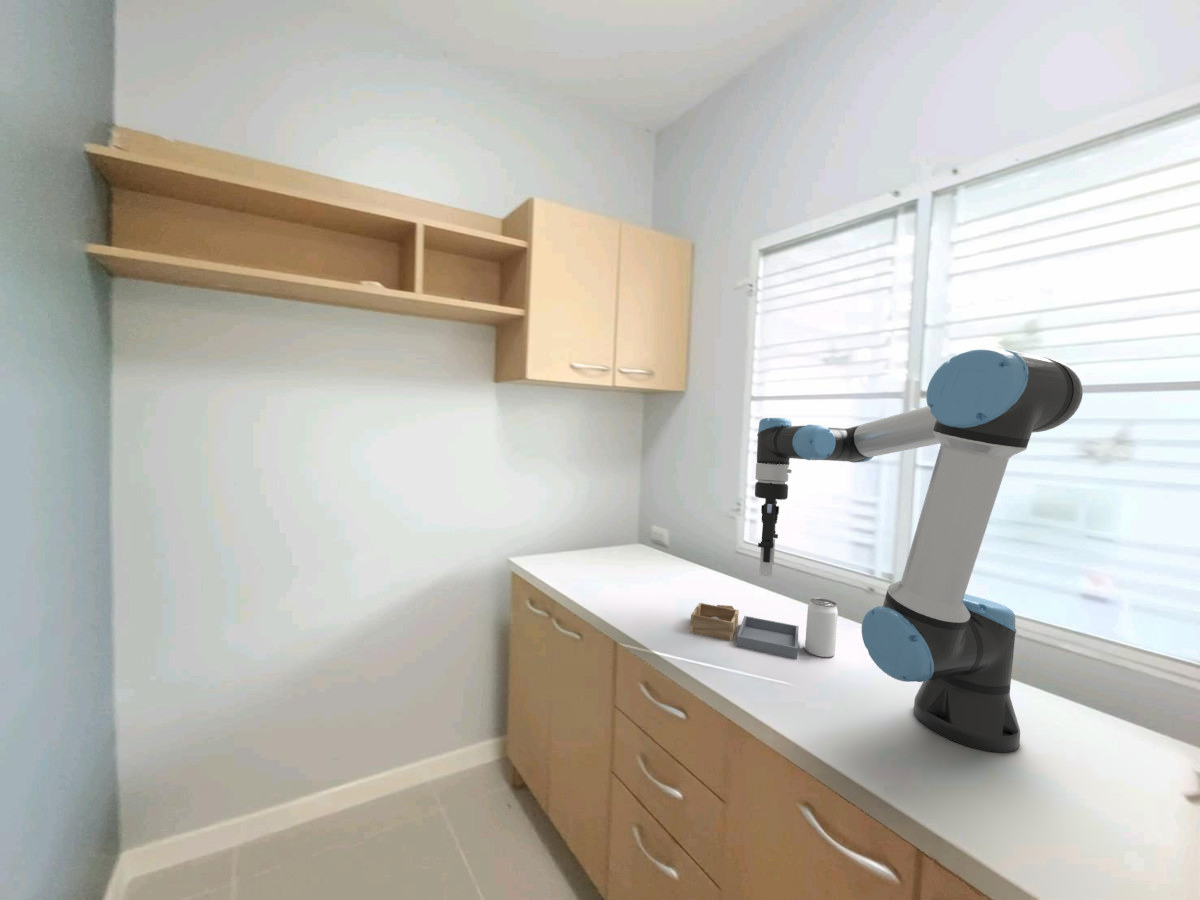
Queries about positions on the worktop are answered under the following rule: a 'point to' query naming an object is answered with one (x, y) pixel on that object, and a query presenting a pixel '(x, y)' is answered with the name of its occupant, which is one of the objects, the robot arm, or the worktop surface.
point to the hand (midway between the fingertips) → (766, 569)
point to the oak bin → (714, 621)
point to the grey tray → (768, 637)
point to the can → (821, 627)
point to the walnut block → (726, 606)
